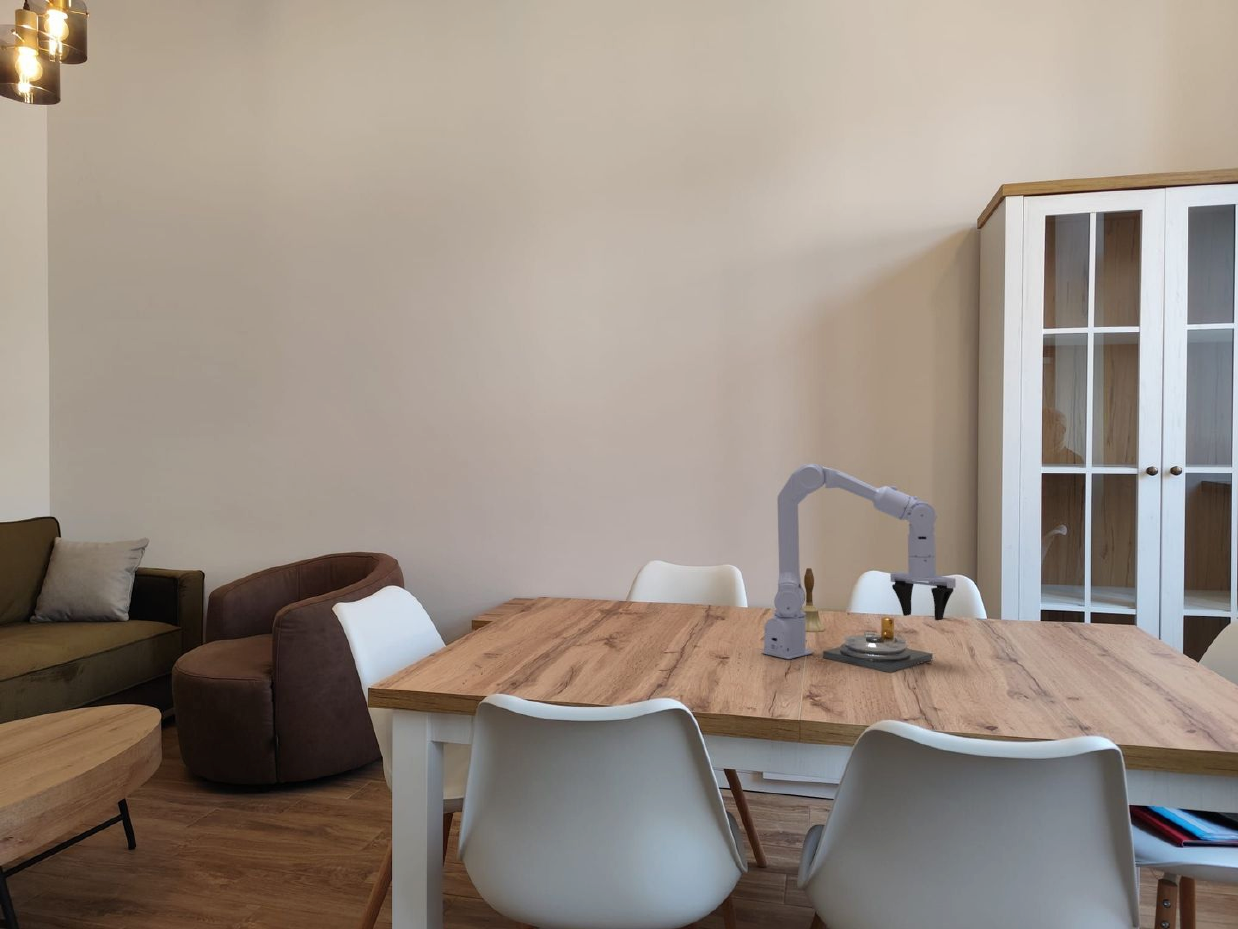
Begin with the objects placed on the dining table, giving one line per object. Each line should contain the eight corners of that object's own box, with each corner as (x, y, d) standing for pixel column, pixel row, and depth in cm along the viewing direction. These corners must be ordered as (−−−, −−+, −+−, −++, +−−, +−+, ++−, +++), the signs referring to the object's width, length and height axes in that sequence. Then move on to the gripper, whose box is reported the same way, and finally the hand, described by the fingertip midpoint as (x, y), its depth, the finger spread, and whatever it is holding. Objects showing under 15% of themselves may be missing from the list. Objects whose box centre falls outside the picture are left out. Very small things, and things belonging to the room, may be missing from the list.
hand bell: (817, 633, 217) (817, 571, 217) (787, 629, 222) (788, 568, 222) (830, 628, 223) (831, 568, 223) (801, 624, 228) (801, 565, 228)
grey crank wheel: (884, 657, 180) (884, 629, 180) (833, 646, 190) (833, 620, 190) (917, 648, 189) (917, 622, 189) (866, 638, 199) (866, 613, 198)
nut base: (890, 672, 178) (890, 660, 178) (823, 657, 191) (823, 645, 191) (932, 660, 189) (932, 648, 189) (866, 646, 202) (866, 635, 202)
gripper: (962, 556, 184) (963, 619, 184) (901, 552, 195) (902, 610, 195) (945, 559, 179) (946, 623, 179) (884, 554, 190) (885, 615, 190)
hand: (922, 617), depth 187 cm, fingers open, 7 cm apart
